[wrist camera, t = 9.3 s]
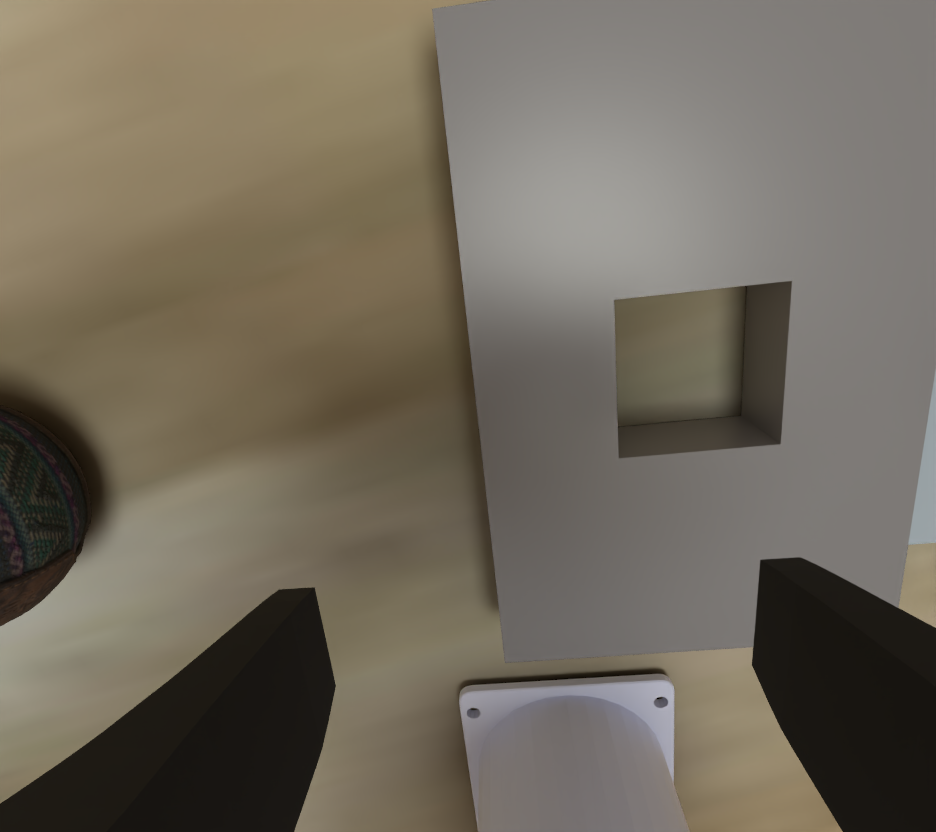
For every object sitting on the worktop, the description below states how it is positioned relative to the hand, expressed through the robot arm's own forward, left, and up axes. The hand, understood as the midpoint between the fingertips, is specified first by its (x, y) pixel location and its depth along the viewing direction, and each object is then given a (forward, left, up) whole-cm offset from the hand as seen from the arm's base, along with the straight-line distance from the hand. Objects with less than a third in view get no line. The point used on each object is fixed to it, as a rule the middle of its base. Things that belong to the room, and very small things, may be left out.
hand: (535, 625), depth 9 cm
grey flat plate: (+2, -5, -9) cm, 11 cm away
